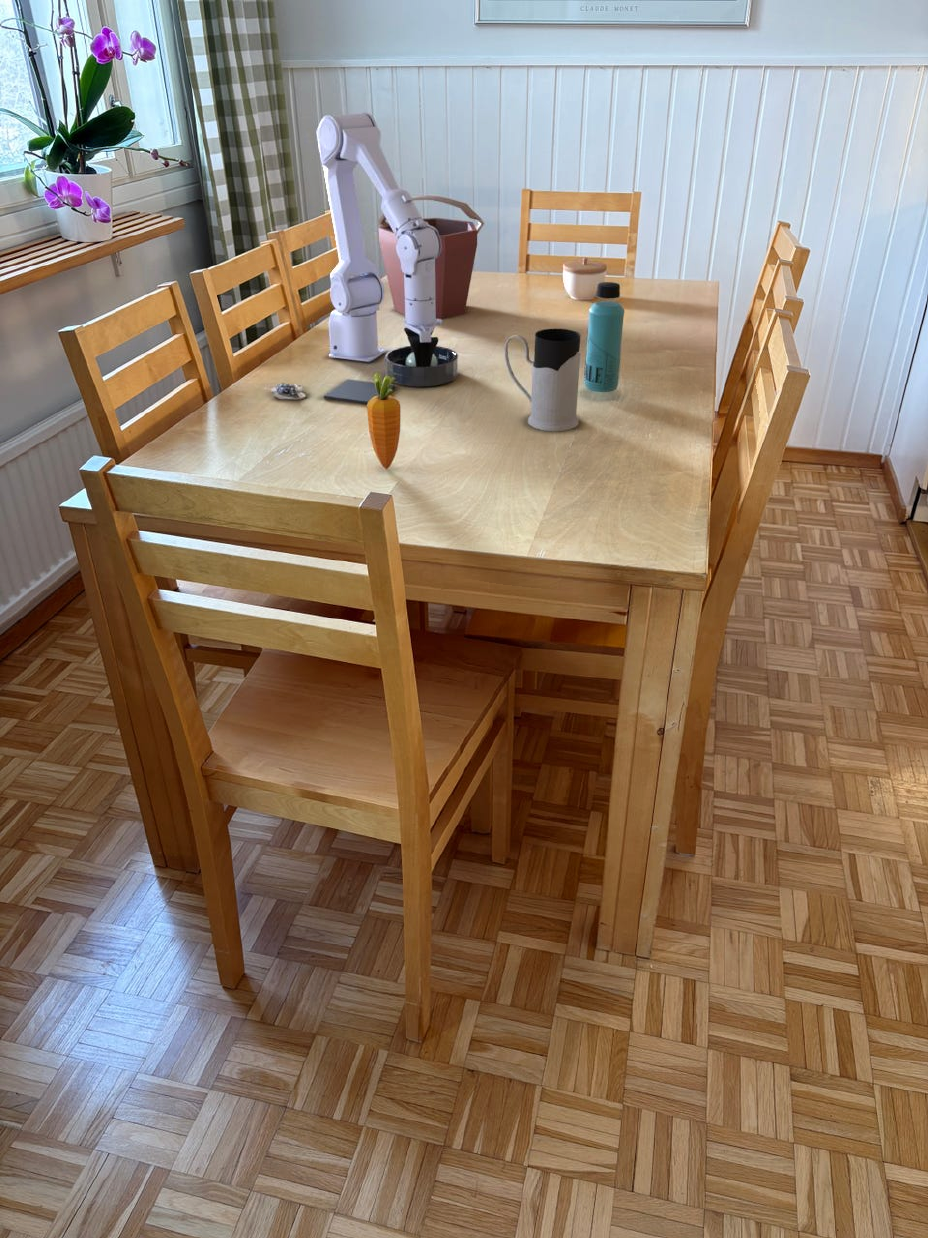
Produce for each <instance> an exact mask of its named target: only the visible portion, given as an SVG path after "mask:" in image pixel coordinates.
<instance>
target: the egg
mask: <svg viewBox="0 0 928 1238" xmlns="http://www.w3.org/2000/svg"><path fill="white" fill-rule="evenodd" d="M437 364H438V362H437V358H436V356H435V355H434V354H433V356H432V361H431V366H436V365H437ZM406 366H413V367H416V362H415V356H414V352H413V353H411V354H409V355H408V357H407V359H406Z"/></svg>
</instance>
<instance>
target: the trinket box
mask: <svg viewBox="0 0 928 1238" xmlns="http://www.w3.org/2000/svg"><path fill="white" fill-rule="evenodd" d="M607 268H608V266H607V264H606V263H604V262H602V261H597V260H588V257H583V258H582V259H579V260H578V259H576V260H569V261H567V262H564V263H563V265H562V281H563V286H564V287H563V288H564V289H565V291H566V293H567V294H568V295H569V296H570V299H573V300H576V301H591V300H594V299H596V297H597V296H596V292H597V286H598V284H599V283H602V282H606V276H607Z"/></svg>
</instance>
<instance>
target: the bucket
mask: <svg viewBox="0 0 928 1238" xmlns="http://www.w3.org/2000/svg"><path fill="white" fill-rule="evenodd" d="M411 198H412V200H413V202H414V201H433V202H439V203H443V204H446V205H449V206H452V207H456V208H458V209H460V210H461V211H462V212H463V213H464V214H465V215H466V216H467V217H468V218H469V219H472V220H476V221H477V223H478V224H477V225H476V226H475V224H474V222H473V221H467V220H460V219H451V218H443V217H442V218H441V217H428V218H422V219H423V221H426V222H428V224H429V225H430V226H433V227H434V228H436V230H437V231H438V234H439V236H440V239H441V244H442V247H441V253H440V255H439V256H438V258H436V259H435V307H436V319H441V320H442V319H446V318H449V317H453V316H458V315H461V314H465V313H466V309H467V302H468V297H469V291H470V286H471V282H472V281H471V280H472V275H473V269H474V266H475V265H474V264H475V258H476V253H477V248H478V234H479V233H480V231H481V229H482V228H483V226H484V225H485V222H484V220H483V219H482V218H481V216H480V215H479V214H478V213H477V212H475V211H474V210H473V209H472V208H471V207H470V205H468V203H467V202H463V201H459V200H456V199H452V198H448V197H445V196H444V197H443V196H437V195H415V196H411ZM378 225H379V226H380V227H378V243H379V247H380V251H381V256H382V260H383V265H384V270H385V273H386V278H387V282H388V287H389V291H390V295H391V300H392V303H393V304H392V305H393V308H394V311H395V312H397V313H400V314H401V315H404V316H405V287H404V273H403V272H402V269H401V261H400V259H399V257H398V254H397V250H396V245H397V244H398V239H397V238H396V236H395V234H394V232H393V230H392V228H391V226H390V225H389V223H388V221H387V219H386V217H385V215H384V213H383V214H382V215H381V217H380V218H379V219H378Z"/></svg>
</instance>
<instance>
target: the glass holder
mask: <svg viewBox="0 0 928 1238" xmlns="http://www.w3.org/2000/svg"><path fill="white" fill-rule="evenodd" d="M581 336H582V334H581V333H579V332H578V331H576V330H572V329H567V328H545V329H540V330H538V331H536V332H535V333H534V350H533V356H534V357H533V361H532V360H531V359H530V347H529V343H528V342H527V340H526V338H524V336H523V335H520V334H514V335H511V336H510V337H508V338H507V340H506V341H505V343H504V359H505V364H506V367H507V370H508V373H509V376H510V378H511V379H512V380H513V382H514V383H515V385H516V386H517V387H518V388H519V389H520V391H521V392H522V393H523V394H524V396H526V398H527V399H528V400H529V402H530V415H529V416H528V419H527V423H528V425H529V426H531V428H534V429H537V430H541V431H544V432H545V431H547V432H563V431H569V430H573V429H574V428H576V427H577V426H578V425H579V419H578V415H577V411H578V409H577V408H578V398H579V397H578V395H579V383H580V381H579V380H580V366H581V352H580V351H581V338H582V337H581ZM514 338H517V339H520V341H521V342H522V343H523V345H524V348H525V360H526V362H527V363H528V364H530V365H532V376H531V395H530V393H529V392H528V391H527V390H526V389H525V387H523V385H522V384H521V383H520V381H519V380H518V379H517V377H516V376H515V373H514V372H513V369H512V366H511V363H510V358H509V345H510V344H509V343H510V341H511V339H514Z"/></svg>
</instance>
